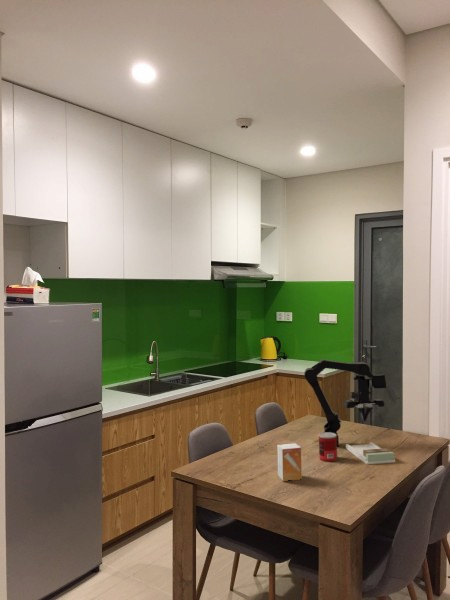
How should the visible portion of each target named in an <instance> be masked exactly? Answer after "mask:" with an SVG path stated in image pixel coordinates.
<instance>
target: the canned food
mask: <svg viewBox="0 0 450 600" xmlns="http://www.w3.org/2000/svg"><path fill="white" fill-rule="evenodd" d="M323 432H324V433H323ZM323 432H320V433H319V434H318V453H319V455H318V457H319V460H320V461H322V462H327V463H329V462H330V463H332V462H335V461H337V459H338V447H337V436H336V434H335V433H330V432H325V431H323Z"/></svg>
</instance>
